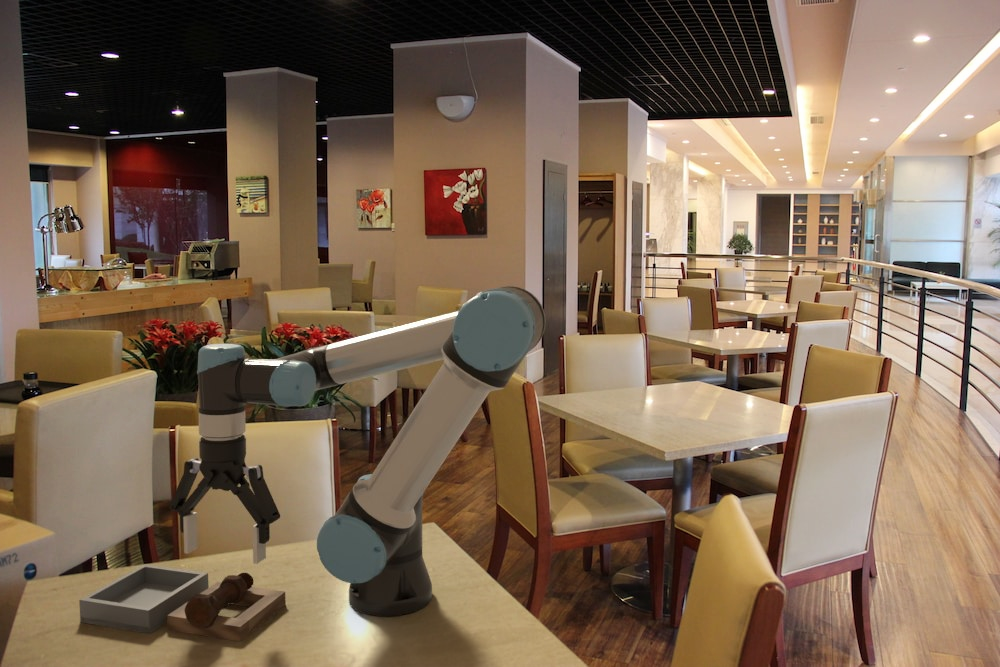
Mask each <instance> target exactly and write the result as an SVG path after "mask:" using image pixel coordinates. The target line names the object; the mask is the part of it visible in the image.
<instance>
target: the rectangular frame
mask: <svg viewBox="0 0 1000 667" xmlns="http://www.w3.org/2000/svg"><path fill="white" fill-rule="evenodd" d="M221 583H222V582H220V581H217V582H215V583H214V584H212V585H210V586H209V588H208V589H206V590H205V591H203V592H202V593H200V594H205V595H209V594H210V593H212V592H214V591H215V590H216V589H218V588H219V587H220V584H221ZM187 603H188V602H187ZM187 603H185V604H184V605H182V606H181V607H179V608H178V609H176V610H175V611H173V612H172V613H170V614H169V615H167V622H166V623H167V630H168V631H172V632H180V633H181V632H182V633H186V634H192V635H199V636H204V637H211V638H218V639H224V640H229V641H236V642H242V641H243V640H244V639H246V638H247V637H248V636H249V635H250V634H252V633H253V632H254V631H256V630H257V629H258V628H259V627H260V626H261V625H263V624H264V623H265V622H267V621H268V620H269V619H270V618H271V617H272V616H274V615H275V614H276V613H277V612H279V611H280V610H281V609H283V607H285V606H286V604H287V603H286V591H284V590H278V589H277V590H276V589H271V588H263V587H255V586H252V587H251V588H250V589H248V590H247V592H246V594H245V596H244V598H243V599H242V600H241V601H240V602H239V603H229V604H228V605H238V606H243V607H248V608H247V609H246V610H244V611H242V613H241V614H239V615H237V617H231V616H225V615H219V614H218V616H217V618H216V619H215V621H214V623H213V625H212V626H210V627H209V628H196V627H194V626H192V625H191V624H190V623H189V622H188V620H187V618H186V615H185V611H184V610H185V607H186V605H187Z"/></svg>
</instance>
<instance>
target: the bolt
mask: <svg viewBox="0 0 1000 667" xmlns="http://www.w3.org/2000/svg"><path fill="white" fill-rule="evenodd" d="M253 586H254V578H253V577H252V575H251V574H250V573H248V572H241V573H239V574H237V575H233V574H232V575H230V574H229V575H227V576H225V577H224V578H223V580H222V582H221V584H220V587H219V588H218V589H216V590H215V591H214V592H212V593H210V594H209V595H205V594H195V595H193V596H192V597H191V598H190V600H189V601H188V603H187V605H186V607H185V610H184V611H185V615H186V618H187V620H188V622H189V623H190V624H191V625H192V626H194V627H196V628H209V627H210V626H212V625H213V623H214V621H215V619H216V618H217V616H218V615H219V614H220V612H221V610H222V609H224V608H225V607H226V606H228V605H230V604H229V603H239V602H240V601H241V600H242V599H243V598H244V596H245V594H246V592H247V590H248V589H250V588H251V587H253Z"/></svg>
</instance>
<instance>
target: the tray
mask: <svg viewBox="0 0 1000 667" xmlns="http://www.w3.org/2000/svg"><path fill="white" fill-rule="evenodd" d="M209 587H210V586H209V573H208V572H203V571H197V570H188V569H181V568H175V567H167V566H160V565H152V564H147V563H146V564H145V563H144V564H142V565H140V566H138V567H137V568H135V569H132V570H131V571H129V572H128V573H125V574H123V575H122V576H120V577H119V578H117V579H115V580H112V581H111V582H108V583H107V584H105V585H104V586H102V587H100V588H98V589H96V590H95V591H92V592H91V593H89V594H87V595H86V596H84V597H82V598H79V600H78V601H79V604H78V605H79V621H80V623H84V624H90V625H95V626H103V627H107V628H113V629H114V628H115V629H118V630H119V629H120V630H121V629H122V630H127V631H132V632H140V633H146V634H151V633H152V632H154V631H155V630H158V629H159V628H160V627H162V625H163V626H164V624H166V623H167V615H169V614H170V613H172V612H173V611H175V610H176V609H178V608H179V607H181V606H182V605H184V604H185V603H187V602H188V601H189V600H190V598H191V597H192V596H193V595H195V594H200V593H202V592H203V591H205V590H206V589H208V588H209Z"/></svg>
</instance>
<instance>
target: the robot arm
mask: <svg viewBox="0 0 1000 667" xmlns="http://www.w3.org/2000/svg"><path fill="white" fill-rule="evenodd" d="M546 322H547V320H546V313H545V310H544V308H543V305H542V304H541V302H540V301H539V299H538V298H537V297H536V296H535V295H534V294H533V293H532V292H530V291H528V290H526V289H525V288H522V287H519V286H512V285H511V286H502V287H498V288H491V289H487V290H483V291H480V292H477V294H475V295H473V296H472V297H470V298H469V299H468V300H466V301H465V302H464V303H463V304H462V306H461V307H460V309H459V310H456V311H453V312H448V313H443V314H440V315H437V316H433V317H428V318H424V319H421V320H418V321H415V322H414V321H413V322H410V323H406V324H403V325H399V326H395V327H391V328H387V329H383V330H379V331H375V332H371V333H367V334H364V335H360V336H355V337H352V338H348V339H344V340H339V341H335V342H332V343H330V344H325V345H321V346H314V347H310V348H307V349H304V350H302V351H298V352H295V353H292V354H288V355H285V356H282V357H279V358H274V359H273V358H271V359H267V358H251V357H247V356H246V355H247V354H246V351H245V348H244V346H243V345H242V344H236V343H212V344H207V345H203V346H202V347H201V348H199V350H198V353H197V355H198V356H197V370H196V374H197V383H198V384H197V388H198V435H199V436H200V438H199V440H198V444H199V445H198V448H199V449H198V450H199V458H200V460H199V458H198V457H194V458H191V459H189V460H185V462H184V464H183V473H182V476H181V478H180V481H179V483H178V485H177V487H176V490H175V492H174V494H173V497H172V499H171V502H170V504H169V507H168V508H169V510H170V512H177V513H178V516H179V523H180V524H179V530H180V533H183V553H184V554H187V555H189V554H190V553H192V552H194V551H195V550H197V549H198V547H199V546H198V541H199V540H198V512H195V508H196V506H197V505H198V504H199V503H200V502H201V500H202V499H203V498H204V497H205V496H206V494H207V493H208V492H209V491H210V489H211V488H212V489H211V490H214V491H215V490H221V491H224V492H229V491H230V492H231V493H232V494H233V496H234V495H235V496H236V497H237V498H238V499H239V501H240V502H241V504H242V505H243V507H244V508H245V509H246V511H247V512H248V514H249V515H250V517H252V519H253V520H254V522H255V523H256V524H254V525H253V526H252V552H253V553H252V563H253V564H254V565H255V564H256V565H257V564H259V563H261V562H262V561H264V560H265V559H266V558H267V544H266V543H268V542H269V541H270V527H271V526H270V524H273V523H274V522H276V521H277V520H280V519H281V513H280V511H279V509H278V507H277V504H276V503H275V501H274V498H273V495H272V493H271V491H270V489H269V486H268V485H267V483H266V482H267V481H266V480H265V478H264V469H263V466H262V465H261V464H257V465H254V466H247V464H246V462H245V461H246V455H247V437H246V435H245V434H244V433H245V432H246V430H247V428H246V423H247V422H246V404H257V405H268V406H280V407H284V408H289V407H304V406H307V405H308V404H309V403H310V402H311V399H312V398H313V397H314V395H315V392H317V391H319V390H323V389H326V388H327V389H328V388H331V387H336V386H339V385H343V384H346V383H352V382H355V381H359V380H364V379H368V378H371V377H376V376H381V375H384V374H388V373H394V372H397V371H401V370H405V369H406V370H407V369H410V368H413V367H417V366H421V365H426V364H430V363H435V362H437V361H438V362H440V361H443V363H442V365H441V366H440V368H439V369H438V371H437V372H436V374H435V375H434V377H433V379H432V380H431V382H430V383H429V385H428V386H427V388H426V390H425V391H424V392H423V394H422V396H421V397H420V398H419V400H418V402H417V403H416V405H415V407H414V408H413V410H412V412H411V413H410V414H409V416H408V418H407V419H406V421H405V422H404V424H403V426H402V427H401V429H400V430H399V431H398V434H396V436H395V438H394V439H393V441H392V442H391V444H390V446H389V447H388V449H387V451H386V452H385V454H384V455H383V456H382V459H381V460H380V462H379V463H378V465H377V466H376V467H375V469H374V471H373V473H370V474H364V475H362V476H360V477H359V478H358V480H357V482H356V483H355V484H354V485H353V486H352V488H351V490H350V491H349V492H348V494H347V496H346V498H345V499H344V501H342V504H341V505H340V506H339V508H338V510H336V512H335V514H333V516H330V517H329V518H328V519H327V520H326V521H325V522H323V525H322V526H321V528H320V529H319V531H318V534H317V538H316V550H317V552H318V556H319V560H320V562H321V564H322V566H324V567H323V568H325V570H326V571H327V572H328V573H329V574H330V575H332V577H334V578H336V579H338V580H340V581H342V582H345V583H348V584H349V586H348V602H349V605H350V606H351V607H352V608H353V609H355V610H356V611H357V612H360V613H363V614H367V615H371V616H376V617H377V616H378V617H394V616H401V615H407V614H410V613H413V612H417V611H419V610H421V609H424V608H425V607H426V606H427V605H428V604H429V603H430V602H431V601H432V598H433V585H432V581H431V576H430V575H429V571H428V568H427V566H426V563H425V560H424V557H423V497H424V493H425V491H426V490H427V488H428V486H429V485H430V483H431V481H432V480H433V479H434V477H435V476H436V474H437V472H438V471H439V470H440V468H441V466H442V465H443V464H444V462H445V460H446V459H447V457H448V456H449V454H450V453H451V451H452V450H453V448H454V447H455V445H456V444H457V442H458V441H459V440H460V438H461V436H462V435H463V433H464V432H465V430H466V429H467V427H468V425H469V424H470V422H471V421H472V420H473V418H474V416H475V415H476V413H477V412H478V410H479V409H480V407H481V406H482V404H483V403H484V401H485V400H486V399H487V397H488V395H489V393H490V392H494V391H499V390H504V388H505V387H506V385H507V384H508V383H509V381H510V379H512V376H513V375H514V374H515V372H516V371H517V369H518V368H519V367H520V364H521V363H522V362H523V360H524V359H525V357H526V356H527V354H529V353H530V351H532V350H533V349H535V347H537V345H538V344H539V343H540V341H541V339H542V338H543V336H544V334H545V330H546ZM199 472H200V473H201V474H202V476H203V478H202V479H201V480H200V481H199V483H198V484H197V485H196V486H197V487H195V489H194V490H193V491H192V493H191V494H190V492H191V490H192V487H193V485H194V483H195V480H196V479H197V476H198V473H199ZM245 476H246V477H245ZM248 480H249V481H248ZM250 487H251V488H250ZM189 494H190V496H189Z"/></svg>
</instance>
